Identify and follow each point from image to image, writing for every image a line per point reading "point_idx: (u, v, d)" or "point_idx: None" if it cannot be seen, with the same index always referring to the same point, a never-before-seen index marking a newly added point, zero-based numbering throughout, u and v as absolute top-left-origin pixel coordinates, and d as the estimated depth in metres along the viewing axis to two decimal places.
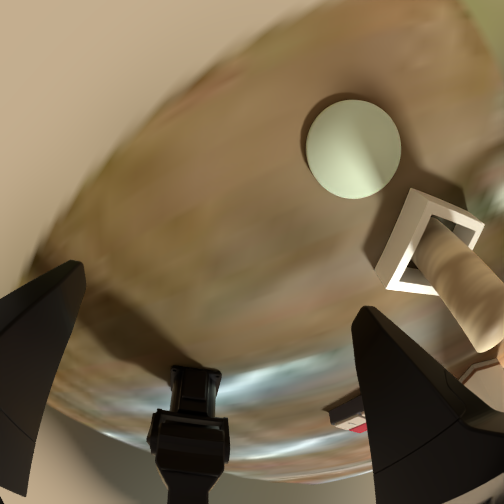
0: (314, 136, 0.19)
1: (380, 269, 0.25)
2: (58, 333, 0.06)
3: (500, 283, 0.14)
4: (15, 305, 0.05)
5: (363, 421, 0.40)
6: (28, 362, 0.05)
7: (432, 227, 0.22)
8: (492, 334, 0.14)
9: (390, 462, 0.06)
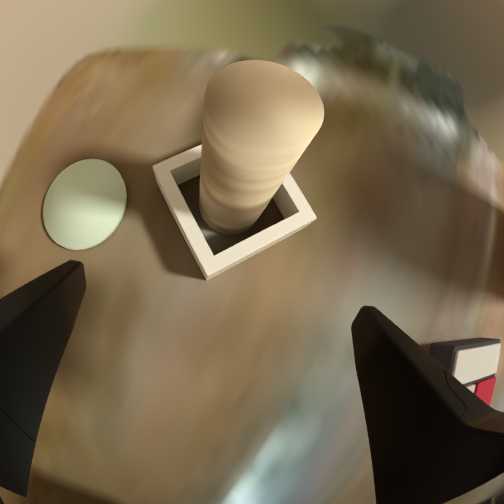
0: (47, 221, 0.19)
1: (202, 270, 0.21)
2: (58, 333, 0.06)
3: None
4: (15, 305, 0.05)
5: None
6: (28, 362, 0.05)
7: None
8: (258, 110, 0.10)
9: (390, 462, 0.06)
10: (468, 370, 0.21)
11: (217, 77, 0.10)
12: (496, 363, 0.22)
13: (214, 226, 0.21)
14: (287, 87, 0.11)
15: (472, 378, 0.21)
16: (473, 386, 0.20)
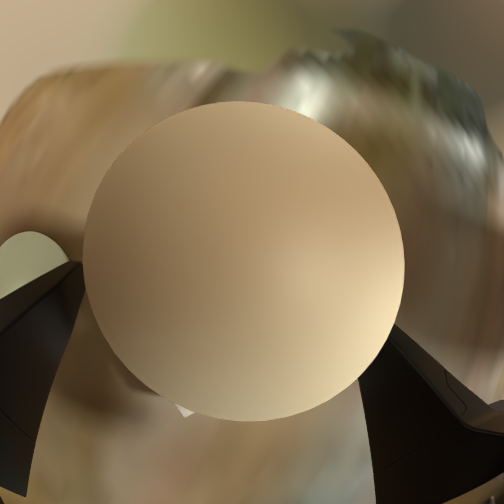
0: None
1: None
2: (58, 333, 0.06)
3: None
4: (15, 305, 0.05)
5: None
6: (28, 362, 0.05)
7: None
8: (234, 299, 0.04)
9: (390, 462, 0.06)
10: None
11: (117, 177, 0.04)
12: None
13: None
14: (317, 191, 0.04)
15: None
16: None
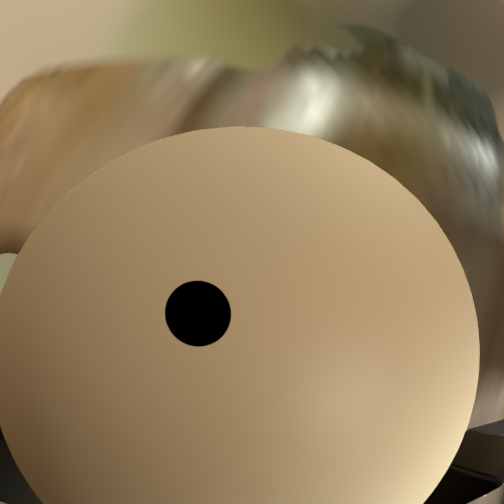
0: None
1: None
2: None
3: None
4: None
5: None
6: None
7: None
8: None
9: None
10: None
11: (17, 306, 0.02)
12: None
13: None
14: (384, 319, 0.02)
15: None
16: None
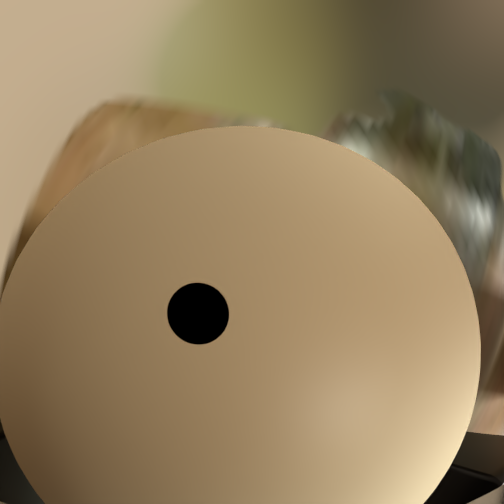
0: None
1: None
2: None
3: None
4: None
5: None
6: None
7: None
8: None
9: None
10: None
11: (19, 305, 0.02)
12: None
13: None
14: (387, 318, 0.02)
15: None
16: None
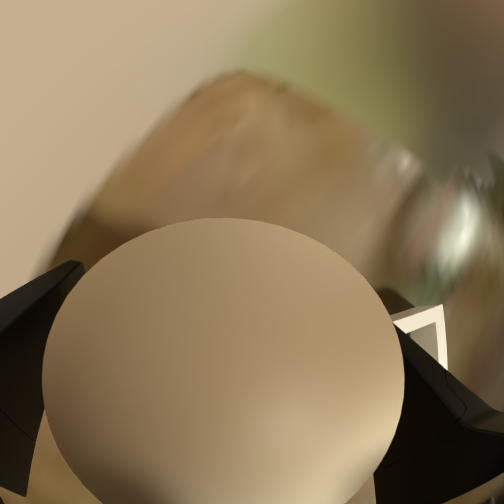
0: None
1: None
2: None
3: None
4: (15, 305, 0.05)
5: None
6: (28, 362, 0.05)
7: None
8: (204, 476, 0.03)
9: (390, 461, 0.06)
10: None
11: (61, 346, 0.03)
12: None
13: None
14: (307, 357, 0.03)
15: None
16: None
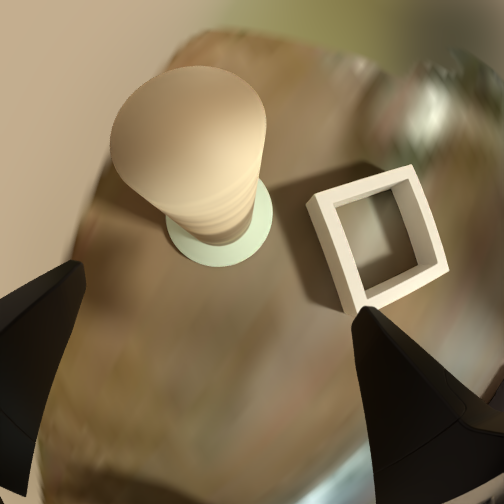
0: (172, 227, 0.21)
1: (345, 305, 0.20)
2: (58, 333, 0.06)
3: None
4: (15, 305, 0.05)
5: None
6: (28, 362, 0.05)
7: None
8: (174, 149, 0.08)
9: (390, 462, 0.06)
10: None
11: (120, 119, 0.08)
12: None
13: (206, 243, 0.20)
14: (209, 97, 0.08)
15: None
16: None
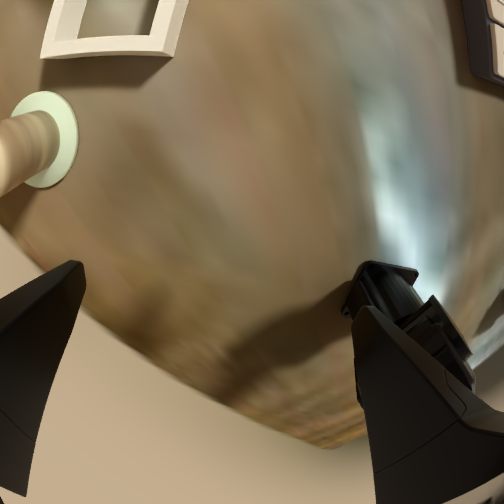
0: (37, 183, 0.18)
1: (159, 54, 0.14)
2: (58, 333, 0.06)
3: None
4: (15, 305, 0.05)
5: None
6: (28, 362, 0.05)
7: None
8: None
9: (390, 461, 0.06)
10: None
11: None
12: None
13: (48, 163, 0.16)
14: None
15: None
16: None
